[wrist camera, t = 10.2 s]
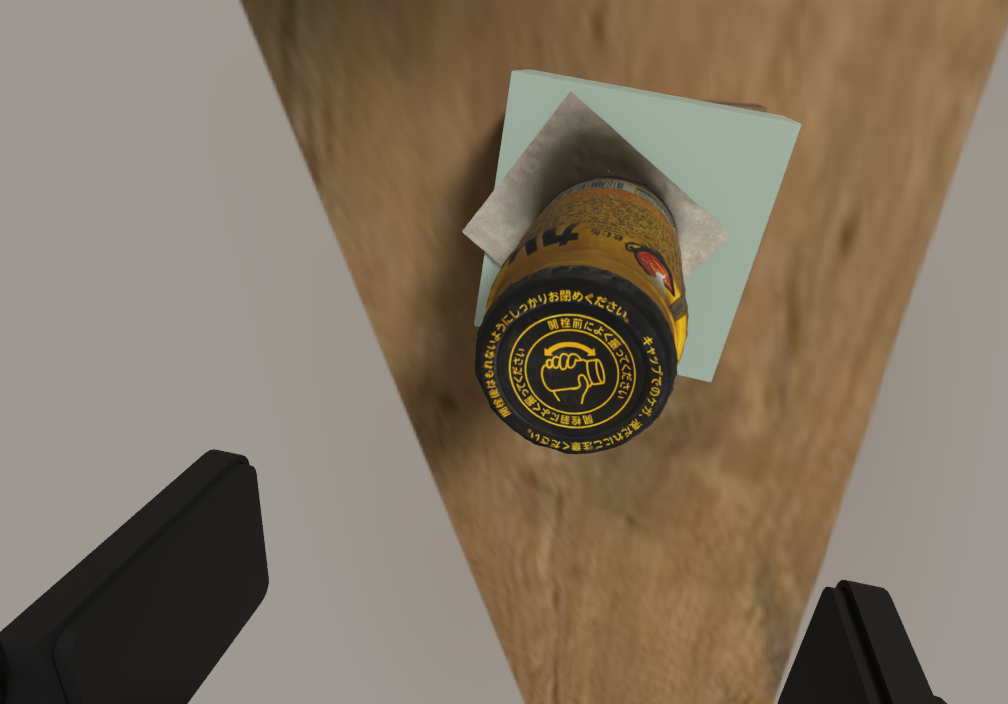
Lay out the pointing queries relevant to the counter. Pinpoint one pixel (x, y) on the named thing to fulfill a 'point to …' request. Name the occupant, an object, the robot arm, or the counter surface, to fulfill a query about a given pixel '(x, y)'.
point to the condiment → (586, 285)
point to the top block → (690, 165)
